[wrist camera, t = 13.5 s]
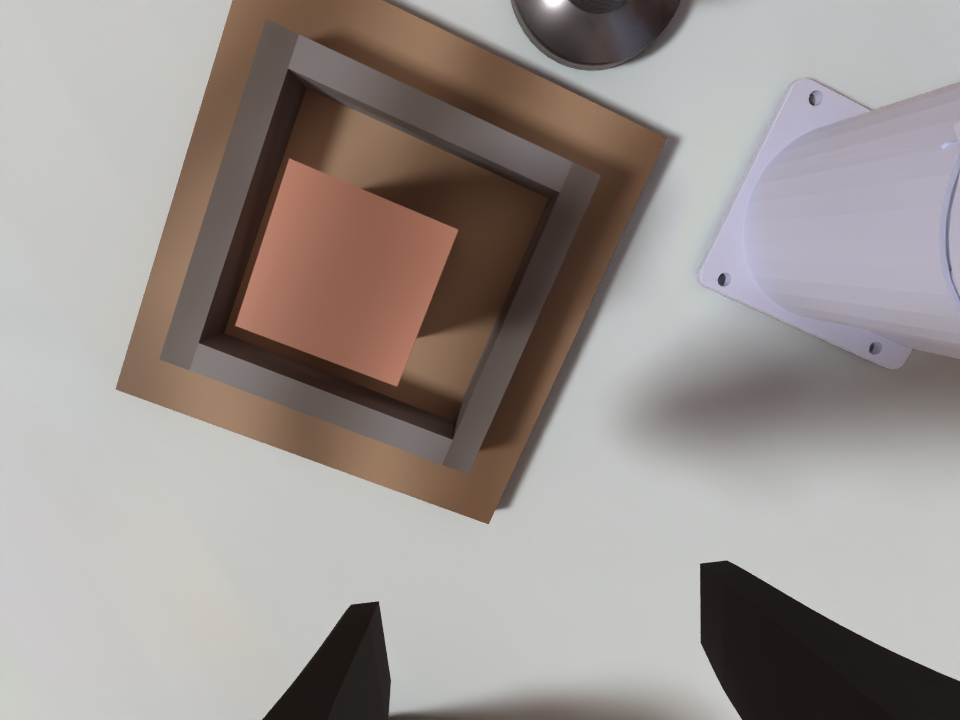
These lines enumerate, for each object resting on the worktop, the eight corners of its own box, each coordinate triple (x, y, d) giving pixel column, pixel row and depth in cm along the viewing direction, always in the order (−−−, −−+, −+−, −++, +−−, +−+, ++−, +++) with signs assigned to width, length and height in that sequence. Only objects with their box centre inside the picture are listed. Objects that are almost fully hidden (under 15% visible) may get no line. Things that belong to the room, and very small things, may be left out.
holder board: (656, 143, 20) (691, 125, 17) (487, 512, 22) (492, 552, 19) (263, -47, 18) (225, -105, 15) (131, 382, 20) (77, 405, 18)
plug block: (456, 235, 19) (458, 229, 12) (416, 338, 20) (397, 386, 13) (349, 191, 18) (289, 158, 12) (312, 297, 19) (235, 326, 12)
